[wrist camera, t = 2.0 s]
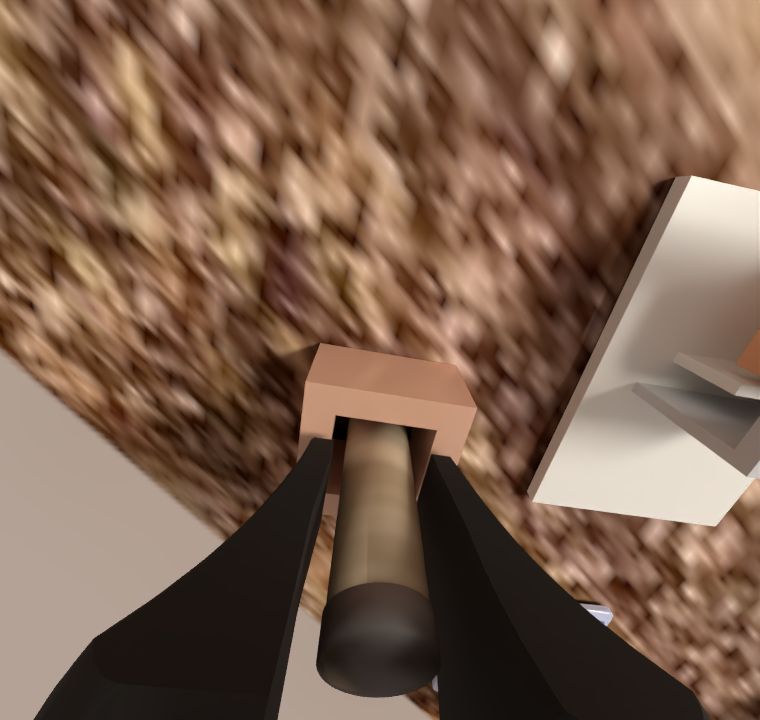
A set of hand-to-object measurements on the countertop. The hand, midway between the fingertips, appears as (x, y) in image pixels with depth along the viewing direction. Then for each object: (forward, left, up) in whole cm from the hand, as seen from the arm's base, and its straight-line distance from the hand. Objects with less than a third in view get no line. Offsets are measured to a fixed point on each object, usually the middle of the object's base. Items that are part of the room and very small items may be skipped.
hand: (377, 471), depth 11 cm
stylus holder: (0, 0, -3) cm, 3 cm away
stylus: (0, 0, -3) cm, 3 cm away
